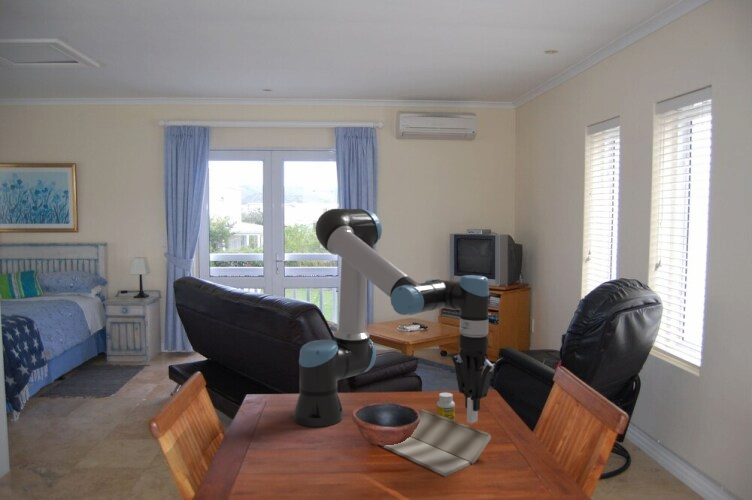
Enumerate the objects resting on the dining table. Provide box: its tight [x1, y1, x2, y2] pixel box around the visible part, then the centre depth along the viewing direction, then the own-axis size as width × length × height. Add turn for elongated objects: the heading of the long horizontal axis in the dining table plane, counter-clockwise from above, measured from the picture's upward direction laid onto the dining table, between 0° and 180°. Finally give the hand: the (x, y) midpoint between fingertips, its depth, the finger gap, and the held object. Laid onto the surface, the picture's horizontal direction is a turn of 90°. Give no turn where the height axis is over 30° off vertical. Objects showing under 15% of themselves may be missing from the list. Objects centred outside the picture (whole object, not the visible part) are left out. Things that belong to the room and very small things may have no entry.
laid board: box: [383, 437, 472, 477], centre depth 144 cm, size 24×10×2 cm, turn 42°
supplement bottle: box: [436, 392, 456, 421], centre depth 164 cm, size 5×5×10 cm
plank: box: [411, 408, 492, 465], centre depth 149 cm, size 24×9×2 cm
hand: (472, 421), depth 147 cm, fingers closed
